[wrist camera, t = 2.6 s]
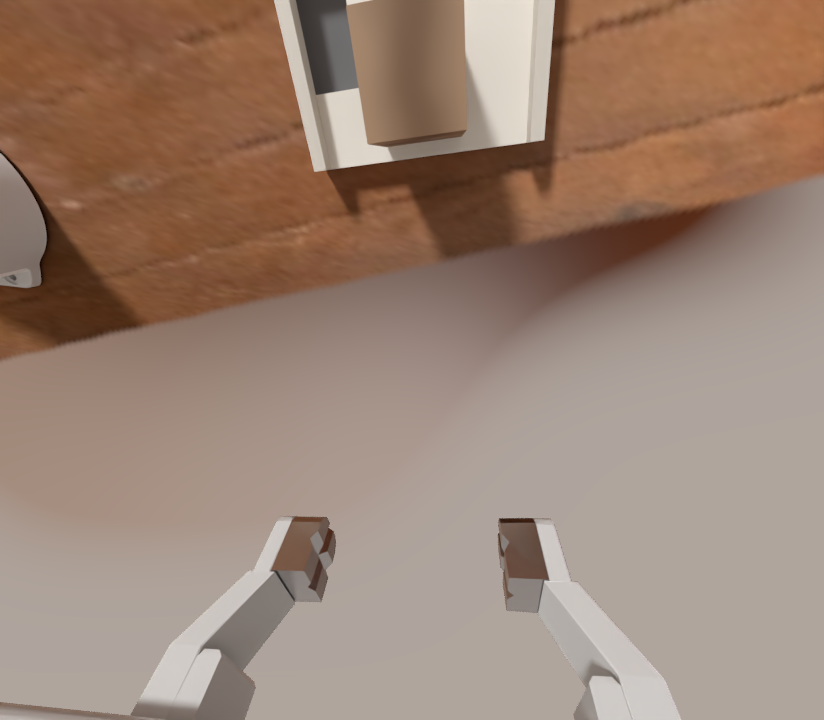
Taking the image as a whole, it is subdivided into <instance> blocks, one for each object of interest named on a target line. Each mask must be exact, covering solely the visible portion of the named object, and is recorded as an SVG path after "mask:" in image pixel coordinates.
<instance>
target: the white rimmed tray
mask: <svg viewBox="0 0 824 720" xmlns="http://www.w3.org/2000/svg"><path fill="white" fill-rule="evenodd" d="M365 1H370V0H274V2H275V6H276V10H277V15H278V19H279V23H280V27H281V32H282V36H283V40H284V44H285V49H286V53H287V57H288V61H289V66H290V70H291V74H292V78H293V83H294V87H295V91H296V95H297V100H298V104H299V108H300V112H301V117H302V121H303V125H304V129H305V134H306V138H307V142H308V146H309V151H310V155H311V159H312V163H313V168H314V172H316V171H325V170H332V169H340V168H347V167H354V166H362V165H369V164H376V163H383V162H391V161H398V160H405V159H412V158H420V157H427V156H434V155H442V154H449V153H456V152H463V151H471V150H478V149H485V148H492V147H500V146H507V145H514V144H522V143H529V142H536V141H542V140H544V137H545V124H546V111H547V98H548V85H549V72H550V59H551V46H552V34H553V21H554V8H555V0H464V15H465V57H466V100H467V130H466V132H465V133H464V134H463V135H462V137H456V138H449V139H442V140H435V141H428V142H421V143H414V144H407V145H400V146H393V147H382V146H376V145H369V144H367V138H366V131H365V125H364V119H363V112H362V106H361V99H360V93H359V87H358V80H357V74H356V67H355V61H354V55H353V48H352V42H351V35H350V29H349V23H348V16H347V10H346V5H351V4H356V3H360V2H365Z"/></svg>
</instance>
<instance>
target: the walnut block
mask: <svg viewBox="0 0 824 720" xmlns="http://www.w3.org/2000/svg"><path fill="white" fill-rule="evenodd" d="M346 10H347V16H348V23H349V29H350V35H351V42H352V48H353V55H354V61H355V67H356V74H357V80H358V87H359V93H360V99H361V106H362V112H363V119H364V125H365V131H366V138H367V144H369V145H376V146H382V147H393V146H400V145H407V144H414V143H421V142H428V141H435V140H442V139H449V138H456V137H462V135H463V134H464V133H465V132H466V130H467V100H466V57H465V15H464V0H370V1H365V2H360V3H356V4H351V5H346Z"/></svg>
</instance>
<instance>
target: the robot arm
mask: <svg viewBox="0 0 824 720" xmlns="http://www.w3.org/2000/svg"><path fill="white" fill-rule="evenodd" d="M46 242H47V234H46V227H45V223H44V219H43V216H42V213H41V211H40V208H39V206H38V204H37V202H36V200H35V198H34V196H33V194H32V193H31V191H30V189H29V188H28V186H27V185H26V183H25V182H24V180H23V179H22V178H21V176H20V175H19V174H18V172H17V171H16V170H15V169H14V167H13V166H12V165H11V164H10V163H9V162H8V161H7V159H6V158H5V157H4V156H3V155H2V154H1V153H0V285H3V286H12V287H21V288H31V287H35V286H39V285H40V284H41V272H40V266H39V264H40V260H41V258H42V256H43V254H44V251H45V248H46ZM498 523H499V524H498V527H499V533H498V549H499V559H500V567H501V568H502V570H503V571H504V572H503V589H504V596H505V602H506V610H507V611H520V612H521V611H522V612H533V613H538V616H539V617H540V619H541V620H542V622H543V623H544V625H545V626H546V628H547V629H548V631H549V632H550V634H551V635H552V637H553V638H554V640H555V641H556V643H557V644H558V646H559V647H560V649H561V650H562V652H563V653H564V655H565V656H566V658H567V659H568V661H569V662H570V664H571V666H572V667H573V669H574V670H575V672H576V673H577V674H578V676H579V678H580V679H581V680H582V682H583V684H584V685H585V687H586V690H585V692H584V694H583V696H582V698H581V700H580V702H579V705H578V706H577V708H576V711H575V713H574V719H575V720H681V718H680V715H679V713H678V711H677V708H676V706H675V703H674V701H673V699H672V696H671V694H670V692H669V689H668V687H667V684H666V682H665V680H664V678H663V677H662V676H661V675H660V674H659V673H658V672H657V670H656V669H655V668H654V667H653V666H652V665H651V664H650V663H649V661H648V660H647V659H646V658H645V657H644V656H643V655H642V654H641V653H640V651H639V650H638V649H637V648H636V647H635V646H634V645H633V643H631V641H630V640H629V639H628V638H627V637H626V636H625V635H624V633H623V632H622V631H621V630H620V629H619V628H618V627H617V626H616V624H615V623H614V622H613V621H612V620H611V619H610V618H609V617H608V615H607V614H606V613H605V612H604V611H603V610H602V609H601V608H600V606H599V605H598V604H597V603H596V602H595V601H594V600H593V599H592V597H590V595H589V594H588V593H587V592H586V591H585V590H584V589H583V587H582V586H581V585H580V584H579V583H578V582H574V581H571V577H570V574H569V571H568V568H567V564H566V561H565V557H564V554H563V551H562V547H561V544H560V541H559V538H558V534H557V531H556V528H555V524H554V522H553V521H552V520H551V519H533V518H504V519H503V518H502V519H501V518H499V522H498ZM329 524H330V522H329V520H328V518H327V517H297V516H282V517H280V518H279V519H278V520H277V522H276V523H275V525H274V527H273V529H272V532H271V534H270V536H269V538H268V540H267V542H266V545H265V547H264V549H263V551H262V553H261V555H260V557H259V560H258V562H257V564H256V566H255V568H254V570H253V571H252V570H251V571H248V572H247V573H246V574H245V575H244V576H243V577H241V578H240V579H239V580H238V581H237V582H236V583H235V584H234V585H233V586H232V587H231V588H230V589H229V590H228V591H227V592H225V593H224V595H222V596H221V597H220V598H219V599H218V600H217V601H216V602H215V603H214V604H213V605H212V606H211V607H210V608H208V609H207V610H206V611H205V612H204V613H203V614H202V615H201V616H200V617H199V618H198V619H197V620H196V621H195V622H194V623H192V624H191V625H190V626H189V627H188V628H187V629H186V630H185V631H184V632H183V633H182V634H181V635H180V636H179V637H178V638H176V640H174V641H173V642H172V643H171V644H170V646H169V648H168V649H167V651H166V653H165V655H164V657H163V658H162V660H161V662H160V664H159V665H158V667H157V669H156V671H155V672H154V674H153V676H152V678H151V679H150V681H149V683H148V685H147V687H146V688H145V690H144V692H143V694H142V696H141V697H140V699H139V701H138V702H137V704H136V706H135V708H134V710H133V712H132V713H131V715H130V716H129V715H119V714H109V713H100V712H90V711H81V710H70V709H61V708H52V707H42V706H32V705H23V704H13V703H3V702H0V720H245V717H246V714H247V711H248V708H249V705H250V703H251V700H252V697H253V694H254V691H255V688H256V687H255V683H254V681H253V680H252V679H251V678H250V677H249V676H247V675H246V674H245V673H244V672H243V670H244V668H245V667H246V666H247V665H248V663H249V662H250V661H251V659H252V658H253V657H254V656H255V654H256V653H257V652H258V650H259V649H260V648H261V647H262V645H263V644H264V643H265V641H266V640H267V639H268V638H269V636H270V635H271V634H272V632H273V631H274V630H275V629H276V627H277V626H278V625H279V623H280V622H281V621H282V619H283V618H284V617H285V616H286V614H287V613H288V612H289V611H290V609H291V608H292V607H293V605H294V604H295V602H296V601H299V602H321V601H322V598H323V594H324V591H325V587H326V583H327V580H328V576H327V573H326V569H327V568H328V566H330V564H331V563H332V562H333V558H334V554H335V547H336V539H335V534H334V532H333V531H332V530H331V529H329V528H328V527H329Z"/></svg>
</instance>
